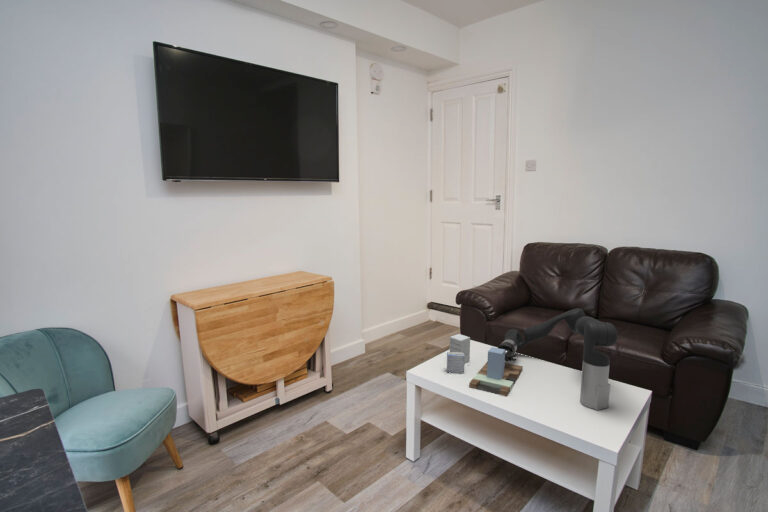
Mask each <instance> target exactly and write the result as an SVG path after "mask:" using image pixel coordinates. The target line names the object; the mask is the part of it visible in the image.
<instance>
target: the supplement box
mask: <svg viewBox="0 0 768 512" xmlns="http://www.w3.org/2000/svg"><path fill="white" fill-rule="evenodd" d="M449 352H461V353H464V356H465V360H464V364H466V363H469V362H470V359H471V357H470V356H471V337H470V336H467V335H465V334H461V333H457V334H455V335H451V336H449Z"/></svg>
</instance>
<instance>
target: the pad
mask: <svg viewBox="0 0 768 512" xmlns="http://www.w3.org/2000/svg"><path fill="white" fill-rule="evenodd" d="M472 379H477V380H480V384H483V385H487V386H491V387H496V388H500V389H501V388H502V386H503V385H504V386H508V387H510V392H511V390H512V388H514V385H513V381H509V380H504V379H501V380H497V379H492V378H488V377H487V376H486V375H482V374H477V373H476V374H475V376H474V377H473V378H472Z"/></svg>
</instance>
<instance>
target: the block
mask: <svg viewBox="0 0 768 512" xmlns="http://www.w3.org/2000/svg"><path fill="white" fill-rule="evenodd" d="M487 361H488V363H487V377H488V378H492V379H497V380H501V379H502V378H503V376H504V364H505V363H506V361H505V349H499V348H498V347H494V346H493V347H492V346H491V347H490V348H489V349H488V351H487Z"/></svg>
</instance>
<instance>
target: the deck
mask: <svg viewBox="0 0 768 512" xmlns="http://www.w3.org/2000/svg"><path fill="white" fill-rule="evenodd" d="M487 363H488V360H487V361H486V362H485V364H484V365H483V366H482V367H481V369H479V370H478V372H477V373H476V374H482V375H486V376H487ZM523 367H524V366H522V365H519V364H518V365H517V364H513V363H508V362H505V364H504V376H503V378H502V379H504V380H509V381H513V386H515V384H516V382H517V381H518V379H519V376H520V375H521V374H520V373H522V371H523ZM468 385H469V388H471V389H475V390H479V391H483V392H486V393H487V392H488V393H492V394H496V395H500V396H504V397H508V396H509V394H510V392H511V391H510V387H508V386H504V385H503V386H502V388H501V389H500V388H496V387H491V386H487V385H483V384H480V380H477V379H473V378H472V379H471V380H470V382H469V384H468Z"/></svg>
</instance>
